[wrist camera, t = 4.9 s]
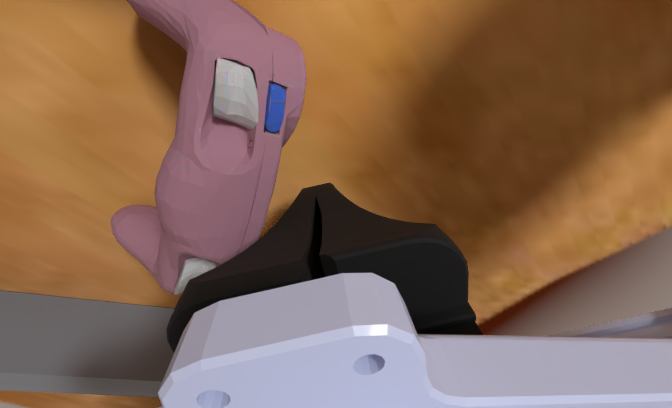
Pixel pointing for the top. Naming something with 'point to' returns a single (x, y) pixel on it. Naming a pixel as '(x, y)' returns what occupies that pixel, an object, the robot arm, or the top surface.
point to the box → (82, 345)
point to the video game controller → (216, 139)
